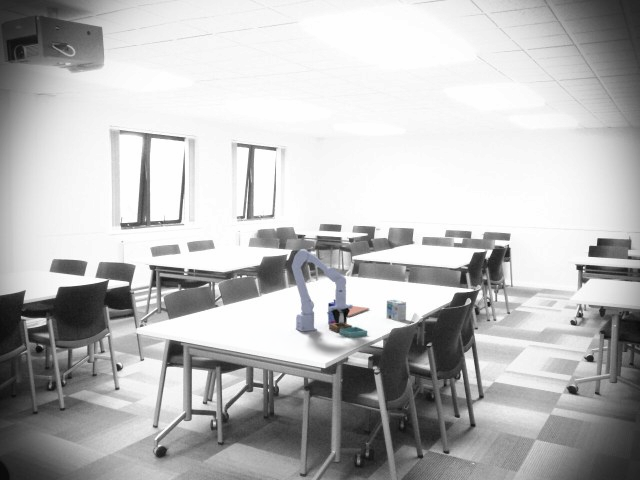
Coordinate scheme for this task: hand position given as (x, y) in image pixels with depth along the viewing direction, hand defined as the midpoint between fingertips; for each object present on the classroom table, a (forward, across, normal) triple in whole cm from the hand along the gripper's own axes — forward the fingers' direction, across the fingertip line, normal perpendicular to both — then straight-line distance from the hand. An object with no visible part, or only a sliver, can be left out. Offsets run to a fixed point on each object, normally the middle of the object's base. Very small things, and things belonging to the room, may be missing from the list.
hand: (340, 322), depth 308 cm
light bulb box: (+4, +45, +9) cm, 46 cm away
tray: (+4, +1, -12) cm, 12 cm away
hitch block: (+4, 0, 0) cm, 4 cm away
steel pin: (+4, 0, 0) cm, 4 cm away
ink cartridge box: (+4, +6, +13) cm, 15 cm away
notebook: (+5, +30, +40) cm, 50 cm away
